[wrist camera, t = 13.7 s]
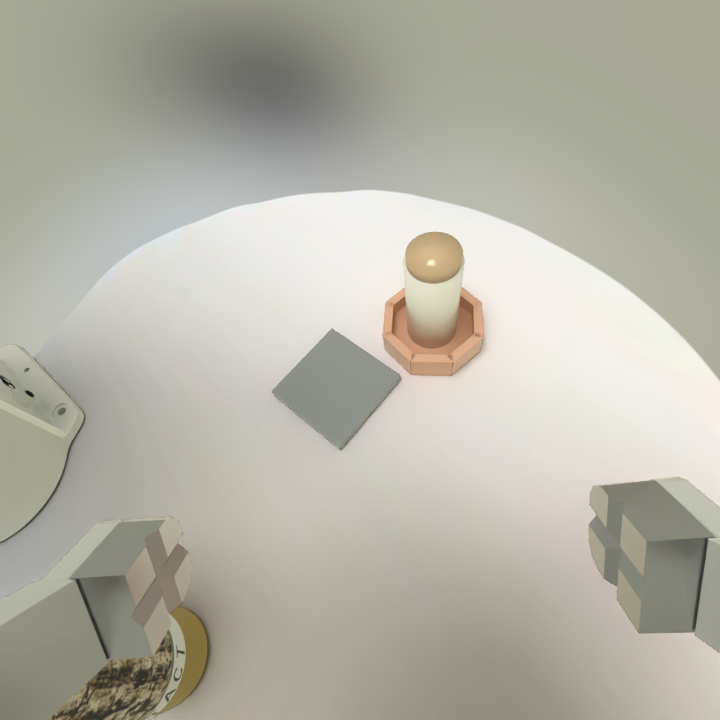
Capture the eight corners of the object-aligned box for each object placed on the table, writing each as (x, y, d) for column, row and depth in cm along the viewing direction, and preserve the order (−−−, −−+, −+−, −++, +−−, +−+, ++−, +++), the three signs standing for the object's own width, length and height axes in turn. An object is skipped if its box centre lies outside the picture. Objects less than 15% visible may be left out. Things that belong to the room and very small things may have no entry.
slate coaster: (274, 395, 43) (271, 391, 42) (333, 333, 46) (331, 328, 45) (340, 450, 40) (338, 447, 39) (400, 379, 42) (400, 375, 41)
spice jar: (397, 327, 44) (390, 253, 34) (431, 300, 45) (434, 220, 35) (430, 357, 42) (433, 288, 32) (466, 328, 43) (478, 252, 33)
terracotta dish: (367, 333, 45) (364, 318, 43) (433, 281, 47) (433, 265, 45) (430, 393, 41) (431, 381, 39) (499, 334, 43) (503, 319, 41)
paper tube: (111, 666, 34) (-457, 809, 12) (172, 586, 36) (-215, 585, 14) (166, 733, 32) (-419, 1066, 10) (228, 643, 34) (-134, 749, 12)
